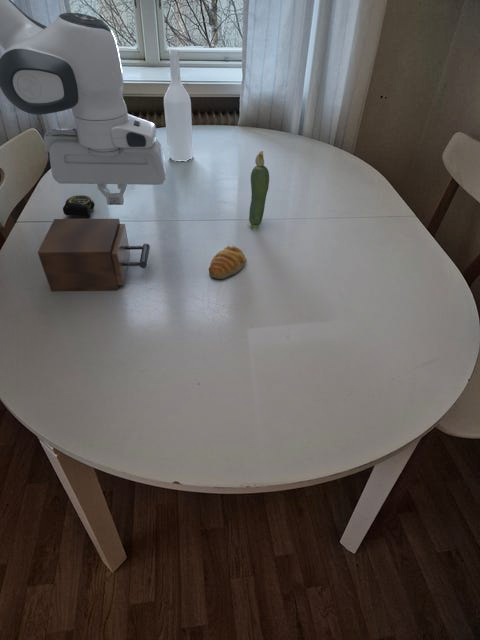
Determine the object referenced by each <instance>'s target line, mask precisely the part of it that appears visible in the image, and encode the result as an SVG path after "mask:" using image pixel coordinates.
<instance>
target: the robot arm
mask: <svg viewBox="0 0 480 640" xmlns="http://www.w3.org/2000/svg"><path fill="white" fill-rule="evenodd" d="M117 44H118V43H117V39H116V37H115V34H114V32H113V30H112V28H111V27H110V26H109V25H108V24H107V23H106V22H105V21H103V20H102V19H100V18H97V17H95V16H92V15H89V14H85V13H79V12H64V13H60V14H58V16H57V18H55V20H53V22H52V23H50V24H49V25H48V26H46V25H44V24H42V23H41V22H39V21H37V20H36V19H33V18H32V17H31V16H29V15H28V14H26V12H24V11H23V10H22V9H21V8H20V7H19V6H17V4H15V2H13V1H12V0H0V46H1V47H2V48H3V49H4V52H3V53H2V55H1V56H0V91H1V92H2V93H3V95H4V96H5V98H6V99H7V100H8V101H9V102H10V103H11V105H13V106H14V107H16V108H17V109H18V110H20V111H22V112H23V113H27V114H30V115H35V116H36V115H37V116H40V115H49V114H55V113H58V112H59V113H60V112H64V111H67V110H71V112H72V118H73V123H74V125H75V126H74V127H75V128H55V127H53V128H50V129H49V131H47V132H45V133H44V135H43V142H44V143H43V144H44V146H45V149H46V151H47V153H49V164H50V170H51V176H52V179H53V180H54V181H56V182H57V184H62V185H63V184H64V185H65V184H67V185H68V184H71V185H72V184H74V185H76V184H77V185H97V189H98V190H99V192H100V193H101V194H102V195H103V196H104V197H105V201H106V204H107V206H114V205H115V206H123V205H124V202H125V199H124V194H125V192H126V190H127V188H128V185H141V186H142V185H143V186H145V185H146V186H147V185H148V186H151V185H152V186H153V185H154V186H155V185H157V186H161V185H163V184H164V183H165V181H166V180H167V165H166V164H167V163H166V159H165V154H164V149H163V146H162V144H161V143H160V141H159V139H157V128H156V125H155V123H153V122H152V121H149V120H147V119H142V118H140V117H137V116H134V115H132V114H129V113H128V108H127V104H126V102H125V100H124V94H123V92H124V91H123V90H124V76H123V69H122V62H121V57H120V51H119V48H118V45H117ZM108 185H117V189H119V192H111V190H110V189H109V188H108Z"/></svg>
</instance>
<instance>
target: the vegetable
mask: <svg viewBox="0 0 480 640" xmlns="http://www.w3.org/2000/svg"><path fill="white" fill-rule="evenodd" d="M254 162H255V166H254V167H253V169H252V170H251V173H250V189H251V198H250V205H249V213H248V214H249V215H248V221H249V224H250V229H251V230H254V229H255V230H256V229H257V230H258V229H260V225H261V224H262V222H263V217H264V213H265V207H266V206H265V205H266V200H267V195H268V191H269V187H270V172H269V169H268V167H267V166H265V158H264V151H263V150H261V151H259V152H258V153H257V155H256V156H255V161H254Z"/></svg>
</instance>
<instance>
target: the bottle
mask: <svg viewBox="0 0 480 640" xmlns="http://www.w3.org/2000/svg"><path fill="white" fill-rule="evenodd" d="M168 54H169V69H170V70H169V71H170V83H169V86H168V87H167V90H166V92H165V94H164V96H163V110H164V111H163V112H164V120H165V121H164V122H165V133H166V144H167V154H168V155H169V156H168V158H169V157H170V158H172V159H174V160H187V159H190V158H192V157H193V158H194V140H193V139H194V138H193V119H192V100H191V97H190V95H189V92H188V91H187V90H186V88H185V87H184V85H183V83H182V79H181V67H180V52H179V50H178V49H168ZM174 162H176V161H174ZM185 162H187V161H185ZM185 162H184V163H185ZM176 163H177V162H176Z"/></svg>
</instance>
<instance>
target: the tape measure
mask: <svg viewBox="0 0 480 640" xmlns="http://www.w3.org/2000/svg"><path fill="white" fill-rule="evenodd" d="M94 209H95V202H94V200H92V198H91V197H90V196H89V195H85V194H77V195H73V196H71V197H69V198H67V199H66V201H65V204H64V205H63V207H62V212H63V215H65V216H66V217H67V216H68V217H77V218H79V217H84V218H90V217H91V216H92V213H94Z"/></svg>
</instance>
